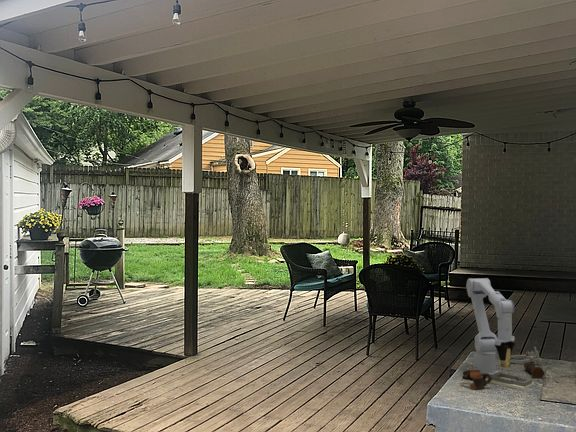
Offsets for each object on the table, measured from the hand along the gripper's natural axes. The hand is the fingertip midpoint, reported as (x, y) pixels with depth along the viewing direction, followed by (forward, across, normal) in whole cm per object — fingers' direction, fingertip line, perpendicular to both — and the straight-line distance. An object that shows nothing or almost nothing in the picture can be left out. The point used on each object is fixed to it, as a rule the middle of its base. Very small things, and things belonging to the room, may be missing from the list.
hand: (505, 359), depth 235 cm
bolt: (+10, +22, -3) cm, 25 cm away
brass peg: (+3, 0, 0) cm, 3 cm away
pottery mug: (+10, -15, +5) cm, 19 cm away
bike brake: (+10, +40, +12) cm, 43 cm away
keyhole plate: (+10, 0, -2) cm, 10 cm away
